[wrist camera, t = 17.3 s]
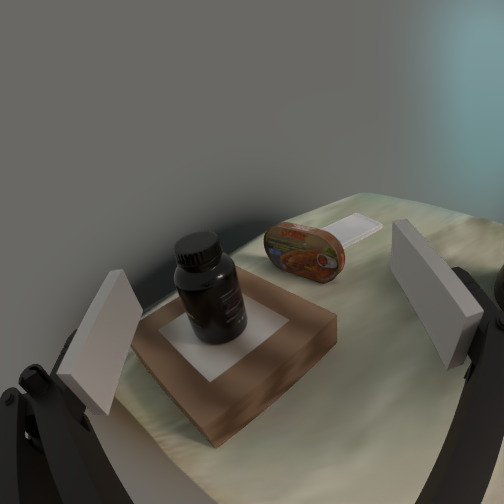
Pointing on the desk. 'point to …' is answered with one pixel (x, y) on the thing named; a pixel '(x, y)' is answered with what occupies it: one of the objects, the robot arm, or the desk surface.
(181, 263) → the supplement bottle
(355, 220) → the hard drive
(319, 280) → the tin
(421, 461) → the desk surface
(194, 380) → the plinth
